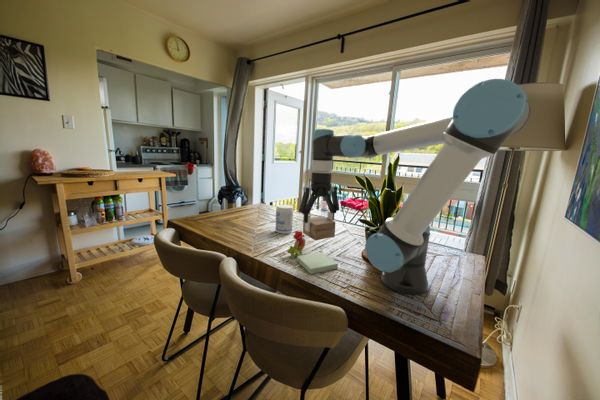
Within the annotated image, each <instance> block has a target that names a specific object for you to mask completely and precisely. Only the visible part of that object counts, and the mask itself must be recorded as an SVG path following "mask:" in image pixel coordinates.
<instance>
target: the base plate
mask: <svg viewBox="0 0 600 400" xmlns="http://www.w3.org/2000/svg"><path fill="white" fill-rule="evenodd" d="M296 262H298V263H299V265H301V266H302V267H303V268H304V269H305V270H306V271H307V272H308V274H310V275H313V274H316V273H322V272H326V271H327V272H328V271H331V270H336V269H338V266H339V263H338V262H337V261H335V260H334V259H333V258H331V257H330V256H328V255H327V254H326V253H324V252H323V251H321V252H315V253H310V254H309V253H308V254H303V255H302V254H301V256H298V255H297V256H296Z"/></svg>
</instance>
